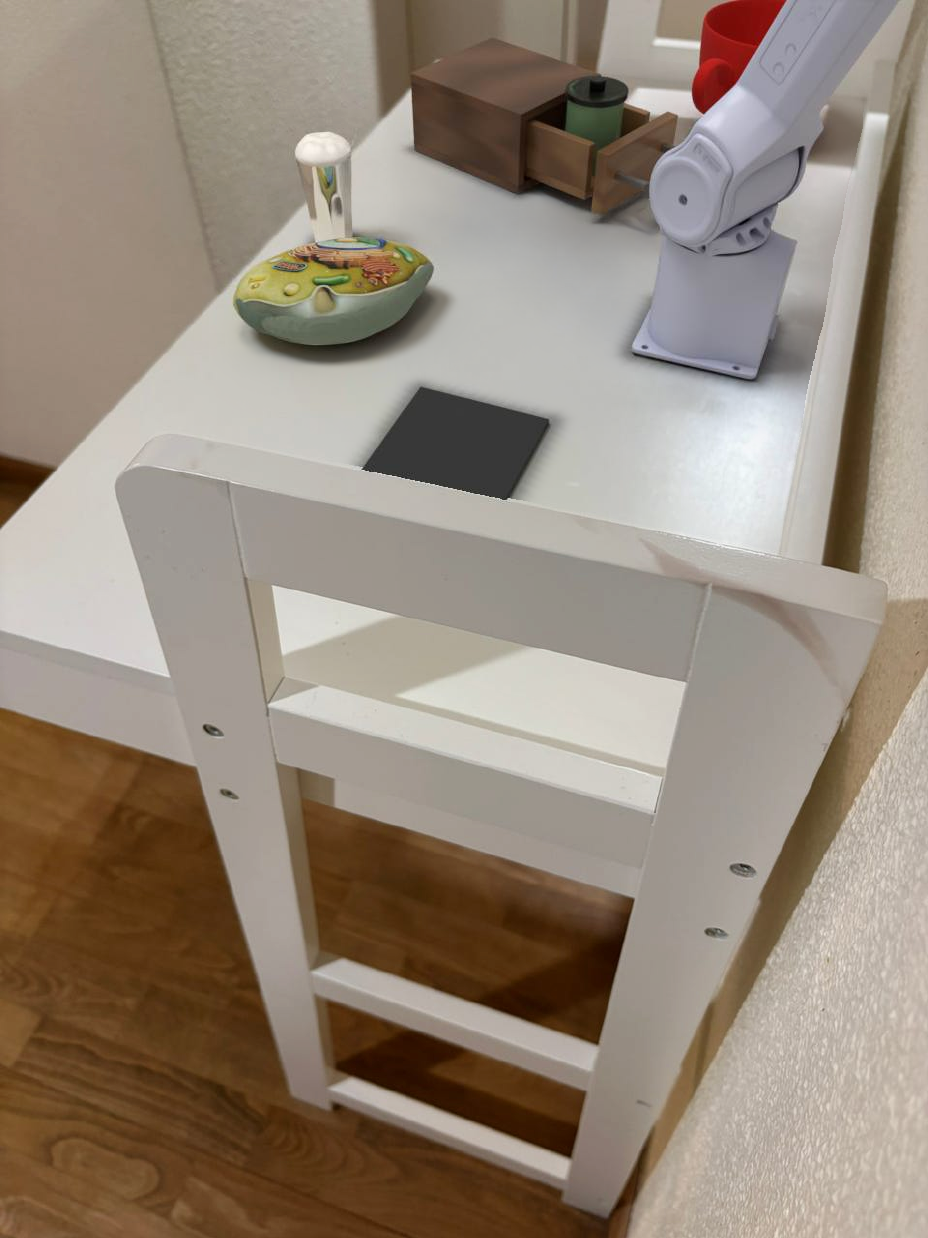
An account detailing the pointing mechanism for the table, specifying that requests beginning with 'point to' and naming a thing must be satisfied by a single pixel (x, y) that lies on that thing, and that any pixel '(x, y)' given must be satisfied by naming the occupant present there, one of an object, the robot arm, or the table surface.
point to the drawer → (617, 164)
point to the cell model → (332, 290)
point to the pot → (595, 110)
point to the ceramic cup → (730, 46)
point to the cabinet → (486, 108)
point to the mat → (458, 444)
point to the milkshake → (327, 183)
